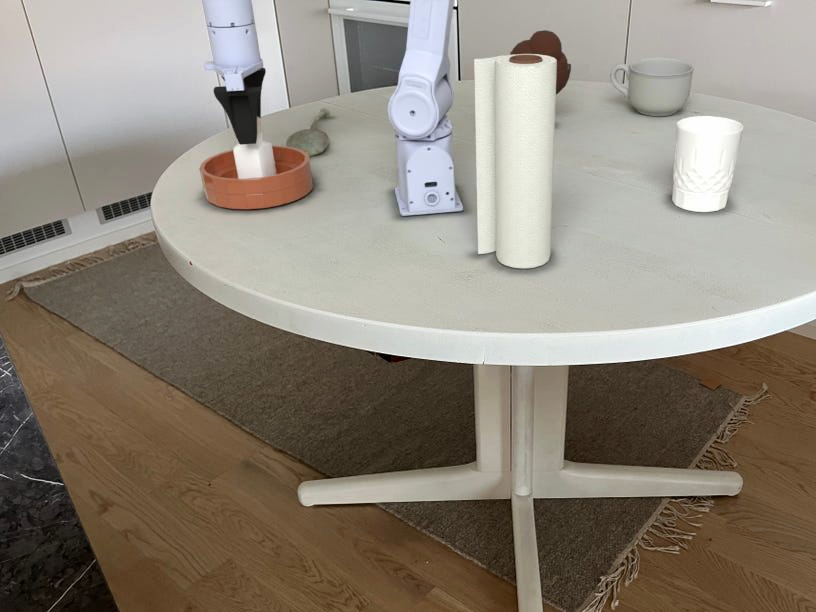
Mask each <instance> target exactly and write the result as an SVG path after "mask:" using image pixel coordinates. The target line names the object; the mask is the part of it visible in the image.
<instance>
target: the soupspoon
mask: <svg viewBox="0 0 816 612" xmlns="http://www.w3.org/2000/svg"><path fill="white" fill-rule="evenodd" d="M330 115H331V112H330V109H329V108H327V107H322V108H320V110H319V113H318V115H317V116H316V117H315V119H314V120H313V121H312V123H311V125H310V127H309V128H305V129H301V130H297V131H296V132H294V133H292V134H291V135H290V136H288V138H287V139H286V144H285V147H292V148H296V149H299V150H302V151H305V152H306V153H307V154H308V155H309V157H313V156H317V155H320V154H322V153H323V152H324V151H325V150H326V149H327V148H328V144H329V141H330V138H329V134H327V132H324V131H323V130H321V129H316V127H317V125H318V123H319V122H320V120H321V118H324V119H327V118H328V117H330Z"/></svg>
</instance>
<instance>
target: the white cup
mask: <svg viewBox="0 0 816 612" xmlns="http://www.w3.org/2000/svg"><path fill="white" fill-rule="evenodd" d="M675 128H676V129H675V142H674V154H673V172H672V173H673V174H672V176H673V185H672V186H673V187H672V197H671V201H672V202H673V204H674V206H676V207H678V208H680V209H682V210H685V211H690V212H695V213H696V212H697V213H710V212H718V211H721V210H722V209H725V207H726V205H727V204H728V198H729V194H730V188H731V187H732V183H733V179H734V175H735V170H736V166H737V162H738V157H739V152H740V147H741V142H742V137H743V132H744V125H743V124H742V123H741V122H740V121H738V120H735V119H732V118H727V117H721V116H712V115H697V116H695V115H694V116H689V117H688V116H687V117H683V118H681V119H679V120H678V121H677V122H676V127H675Z"/></svg>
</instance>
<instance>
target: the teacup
mask: <svg viewBox="0 0 816 612" xmlns="http://www.w3.org/2000/svg"><path fill="white" fill-rule="evenodd" d="M694 70H695V66H694V65H693V64H692V63H691V62H689V61H686V60H683V59H680V58H679V59H677V58H671V57H645V58H641V59H637V60H634V61H632V62H631V63H630V64H629V65H628V64H626V63H622V62H621V63H617V64H615V65H614V66H613V67H612V68H611V71H610V73H609V79H610V82H611V84H612V86H613V87H614V88H615V89H616V90H617V91H618V92H620V93H621V94H623V95H624V98H625V99H626V100H628V101H629V103H630V104H631V106H632V107H633V108H635V110H636V111H637V112H638V113H639V114H642V115H644V116H650V117H668V116H672V115H675V114H676V113H677V112H678V111H679V110H682V108H684V107H685V105H687V103H688V101H689V98H690V93H691V87H692V82H693V81H692V80H693V72H694ZM618 71H622V72H624V73H625V75H626V79H627V81H628V85H627V87H628V88H627V87H625V86H624V85H622V84H621V83H620V82H619V80H618V79H617V72H618Z"/></svg>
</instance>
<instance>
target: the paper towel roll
mask: <svg viewBox="0 0 816 612" xmlns="http://www.w3.org/2000/svg"><path fill="white" fill-rule="evenodd" d="M473 68H474V70H473V71H474V115H475V117H474V119H475V122H474V123H475V161H476V162H475V165H476V168H475V169H476V170H475V171H476V172H475V173H476V214H477V215H476V217H477V219H476V220H477V255H483V254H490V253H494V252H495V256H496V259H497V261H498V262H499V263H500V264H502V265H503V266H506V267H510V268H512V269H533V268H537V267H540V266H543V265H545V264H546V263H548V262H549V260H550V257H551V255H552V254H551V251H552V226H553V225H552V224H553V223H552V222H553V221H552V220H553V190H554V160H555V133H556V130H555V129H556V104H557V103H556V102H557V101H556V100H557V99H556V98H557V94H556V74H557V60H556V59H555V58H554V57H550V56H547V55H539V54H516V55H510V54H505V55H504V54H503V55H497V56H492V57H484V58H474V59H473Z"/></svg>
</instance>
